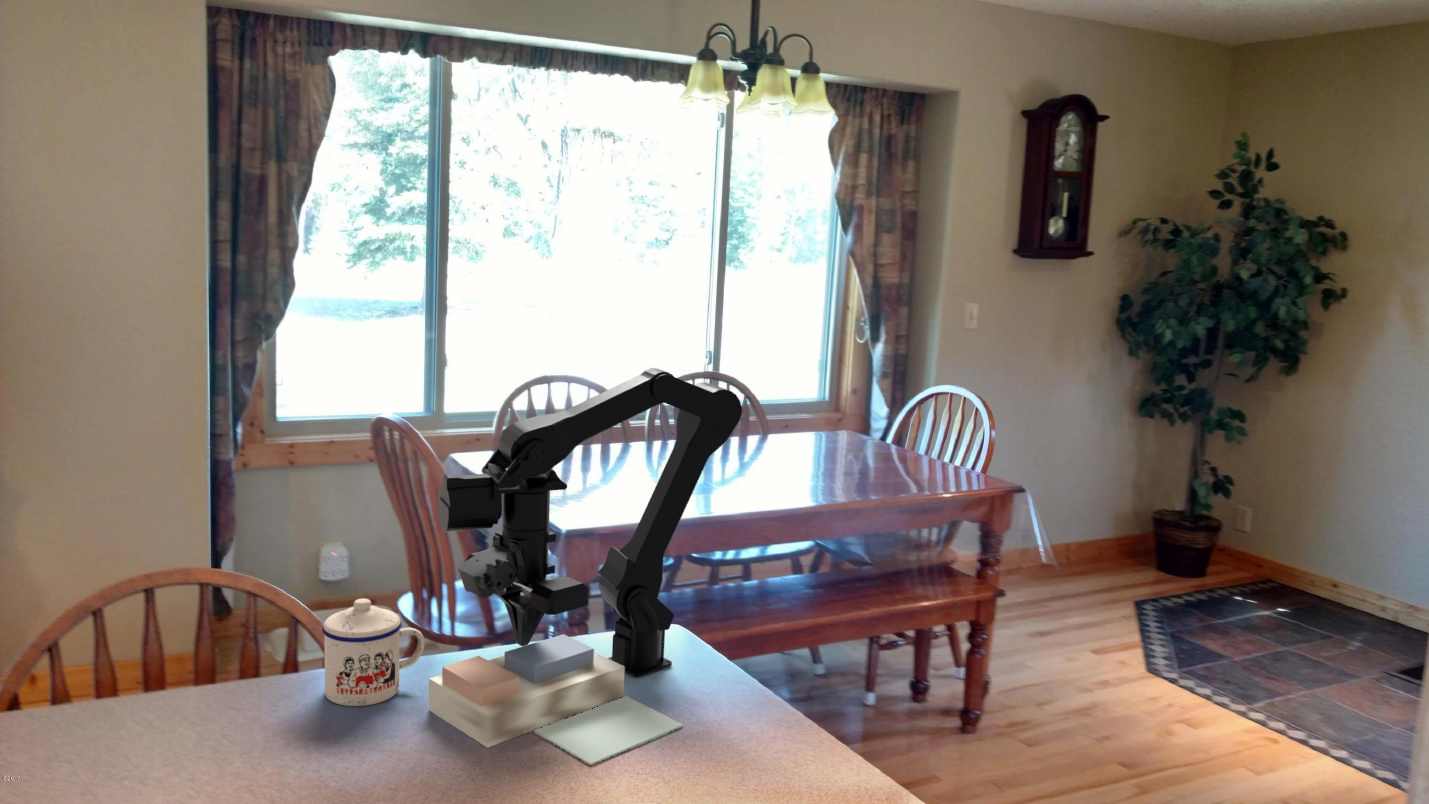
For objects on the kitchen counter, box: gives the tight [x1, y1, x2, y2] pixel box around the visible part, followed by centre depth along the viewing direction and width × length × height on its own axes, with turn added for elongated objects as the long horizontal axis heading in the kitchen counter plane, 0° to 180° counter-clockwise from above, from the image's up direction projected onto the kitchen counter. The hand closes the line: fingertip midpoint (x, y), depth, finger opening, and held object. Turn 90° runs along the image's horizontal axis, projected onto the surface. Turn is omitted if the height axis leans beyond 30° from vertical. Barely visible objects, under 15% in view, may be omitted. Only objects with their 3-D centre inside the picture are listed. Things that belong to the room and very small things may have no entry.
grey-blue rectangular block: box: [503, 633, 595, 684], centre depth 131 cm, size 9×6×2 cm, turn 136°
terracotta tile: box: [441, 655, 519, 706], centre depth 124 cm, size 5×8×2 cm, turn 46°
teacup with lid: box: [321, 598, 425, 707], centre depth 131 cm, size 12×9×12 cm
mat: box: [534, 695, 684, 766], centre depth 124 cm, size 14×10×1 cm
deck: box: [428, 651, 625, 748], centre depth 130 cm, size 20×12×4 cm, turn 136°
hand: (523, 644), depth 135 cm, fingers closed
